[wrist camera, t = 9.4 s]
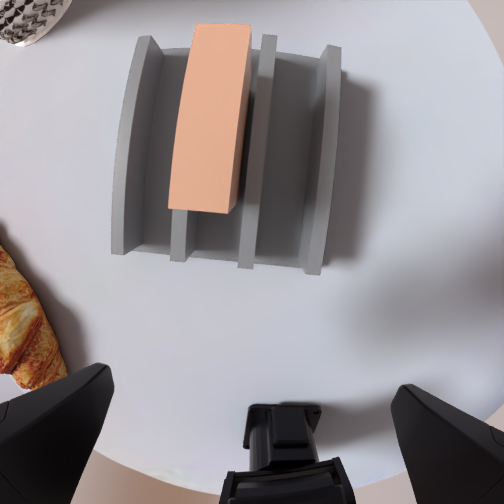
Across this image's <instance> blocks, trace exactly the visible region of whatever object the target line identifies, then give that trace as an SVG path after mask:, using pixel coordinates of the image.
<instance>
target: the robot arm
mask: <svg viewBox="0 0 504 504" xmlns="http://www.w3.org/2000/svg"><path fill="white" fill-rule="evenodd" d="M113 393H114V382H113V377H112V373H111V368H110V367H109V366H108V365H106V364H102V363H95V364H92V365H90V366H88V367H86V368H83V369H81V370H79V371H77V372H74V373H72V374H70V375H68V376H65V377H63V378H61V379H59V380H56V381H54V382H52V383H49V384H47V385H45V386H42V387H40V388H38V389H35V390H33V391H30V392H28V393H26V394H23V395H21V396H18V397H16V398H13V399H11V400H10V401H6V402H3V403H1V404H0V504H70V503H71V500H72V498H73V495H74V493H75V490H76V487H77V485H78V483H79V480H80V478H81V475H82V473H83V471H84V468H85V466H86V464H87V461H88V459H89V457H90V455H91V452H92V450H93V448H94V445H95V443H96V441H97V439H98V437H99V434H100V432H101V429H102V427H103V424H104V420H105V417H106V414H107V411H108V408H109V405H110V402H111V399H112V396H113ZM253 410H255V411H253ZM315 411H316V412H315ZM321 413H322V411H321V408H320V407H319V406H266V405H251V406H249V408H248V413H247V420H246V427H245V434H244V440H243V448H244V449H250V471H248V472H235V471H228V473H227V477H226V479H225V480H224V484H223V489H222V493H221V497H220V501H219V504H356V500H355V496H354V492H353V489H352V486H351V484H350V481H349V479H348V477H347V474H346V472H345V470H344V467H343V465H342V462H341V460H340V458H339V457H335V458H332V459H331V460H327V461H322V462H319V458H318V454H317V449H316V445H315V441H314V436H313V433H314V431H315V428H316V426H317V423H318V421H319V418H320V415H321ZM391 413H392V417H393V421H394V425H395V429H396V434H397V438H398V443H399V446H400V450H401V453H402V456H403V459H404V462H405V465H406V468H407V471H408V474H409V478H410V481H411V484H412V488H413V491H414V494H415V498H416V502H417V504H504V432H503V431H501V430H498V429H496V428H494V427H492V426H489V425H488V424H486V423H484V422H482V421H480V420H479V419H477V418H475V417H473V416H471V415H469V414H467V413H465V412H463V411H461V410H459V409H457V408H456V407H454V406H452V405H450V404H448V403H446V402H444V401H442V400H441V399H439V398H437V397H435V396H433V395H431V394H430V393H428V392H426V391H424V390H422V389H420V388H419V387H417V386H415V385H413V384H405V385H401V386H400V387H399V389H398V391H397V393H396V395H395V397H394V399H393V401H392V403H391Z"/></svg>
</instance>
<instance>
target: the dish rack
mask: <svg viewBox="0 0 504 504" xmlns="http://www.w3.org/2000/svg"><path fill="white" fill-rule="evenodd" d="M276 45H277V36H275V35H266V34H263V36H262V44H261V50H254V49H251V98H250V106H249V114H248V122H247V131H246V139H245V148H244V157H243V165H242V174H241V184H240V193H239V201H238V203H237V204H236V205H235V206H234V207H233V208H232V209H231V211H230V212H229V213H228V214H225V213H215V212H204V211H193V210H181V209H169V208H168V201H169V189H170V178H171V168H172V159H173V150H174V142H175V134H176V127H177V120H178V113H179V107H180V101H181V95H182V89H183V83H184V78H185V73H186V68H187V63H188V58H189V53H190V48H173V49H160V47H159V46H158V45H157V43H156V42H155V40H154V39H153V38H152V36H151V35H149V36H141V37H138V41H137V44H136V48H135V51H134V55H133V59H132V63H131V67H130V71H129V76H128V80H127V85H126V90H125V95H124V100H123V106H122V111H121V118H120V124H119V131H118V138H117V146H116V155H115V165H114V177H113V192H112V215H111V254H116V255H125V254H127V253H128V252H130V251H140V252H149V253H158V254H167V255H170V261H177V262H185V261H186V260H187V259H188V258H189V257H196V258H205V259H215V260H225V261H235V262H238V268H245V269H253V264H254V263H255V264H266V265H276V266H287V267H297V268H302V269H303V271H304V272H305V274H309V275H320V273H321V267H322V261H323V255H324V249H325V242H326V236H327V229H328V222H329V214H330V207H331V199H332V190H333V181H334V172H335V162H336V151H337V138H338V125H339V108H340V87H341V47H337V46H333V45H327V46H326V48H325V50H324V52H323V53H322V55H321V57H320V59H318V58H313V57H308V56H302V55H296V54H289V53H282V52H276Z"/></svg>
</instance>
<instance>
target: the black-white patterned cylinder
mask: <svg viewBox="0 0 504 504" xmlns="http://www.w3.org/2000/svg"><path fill="white" fill-rule="evenodd" d="M71 2H72V0H0V39H2V40H6V41H7V42H8V43H11V44H16V46H19V47H26V46H28V45H30V44H33V43H35V42H36V41H37V40H39V39H40V38H41V37H43V36H44V35H45V34H47V33H48V32H49V30H50V29H51V28H52V27H53V26H54V25H55V24H56V23H57V22H58V21H59V20H60V19H61V17H62V16H63V15H64V13H65V12H66V11H67V9H68V8H69V6H70V4H71Z"/></svg>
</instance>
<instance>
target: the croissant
mask: <svg viewBox="0 0 504 504" xmlns="http://www.w3.org/2000/svg"><path fill="white" fill-rule="evenodd" d="M4 373H5V374H11V375H13V378H14V379H15V381H16V383H17V384H18V385H19V386H20V387H21V388H24V389H28V388H29V389H31V390H32V391H33V390H35V389H38V388H40V387H42V386H45V385H47V384H49V383H52V382H54V381H56V380H59V379H61V378H63V377H65V376H67V369H66V366H65V364H64V360H63V359H62V356H61V354H60V350H59V344H58V341H57V338H56V336H55V334H54V332H53V330H52V328H51V326H50V324H49V322H48V321H47V318H46V315H45V313H44V311H43V309H42V306H41V304H40V302H39V300H38V298H37V296H36V294H35V293H34V291H33V289H32V288H31V286H30V285H29V284H28V282H27V281H26V280H25V278H24V277H23V276H22V275H21V274H20V273H19V271H17V270H16V268H15V263H14V262H13V260H12V259H11V257H10V256H9V254H8V253H6V252H5V251H4V249H3V247H2V246H1V245H0V374H4Z"/></svg>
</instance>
